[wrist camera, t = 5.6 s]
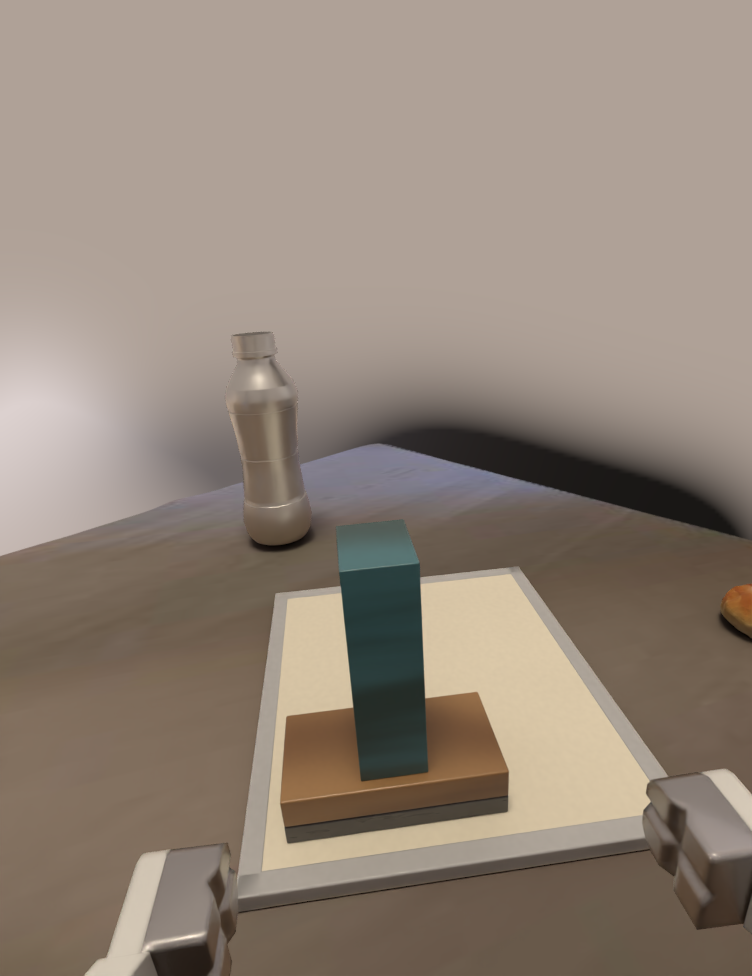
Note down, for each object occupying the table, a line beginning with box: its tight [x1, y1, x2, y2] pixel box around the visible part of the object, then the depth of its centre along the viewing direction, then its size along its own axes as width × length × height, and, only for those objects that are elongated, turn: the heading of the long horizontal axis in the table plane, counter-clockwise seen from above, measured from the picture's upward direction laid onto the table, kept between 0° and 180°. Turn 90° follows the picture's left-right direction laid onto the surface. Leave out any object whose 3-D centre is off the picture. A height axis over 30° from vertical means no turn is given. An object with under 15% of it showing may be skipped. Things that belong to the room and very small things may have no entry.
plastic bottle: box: [225, 332, 312, 545], centre depth 51 cm, size 6×7×20 cm
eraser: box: [280, 519, 509, 843], centre depth 24 cm, size 5×10×13 cm, turn 96°
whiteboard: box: [237, 567, 668, 912], centre depth 33 cm, size 23×20×1 cm
